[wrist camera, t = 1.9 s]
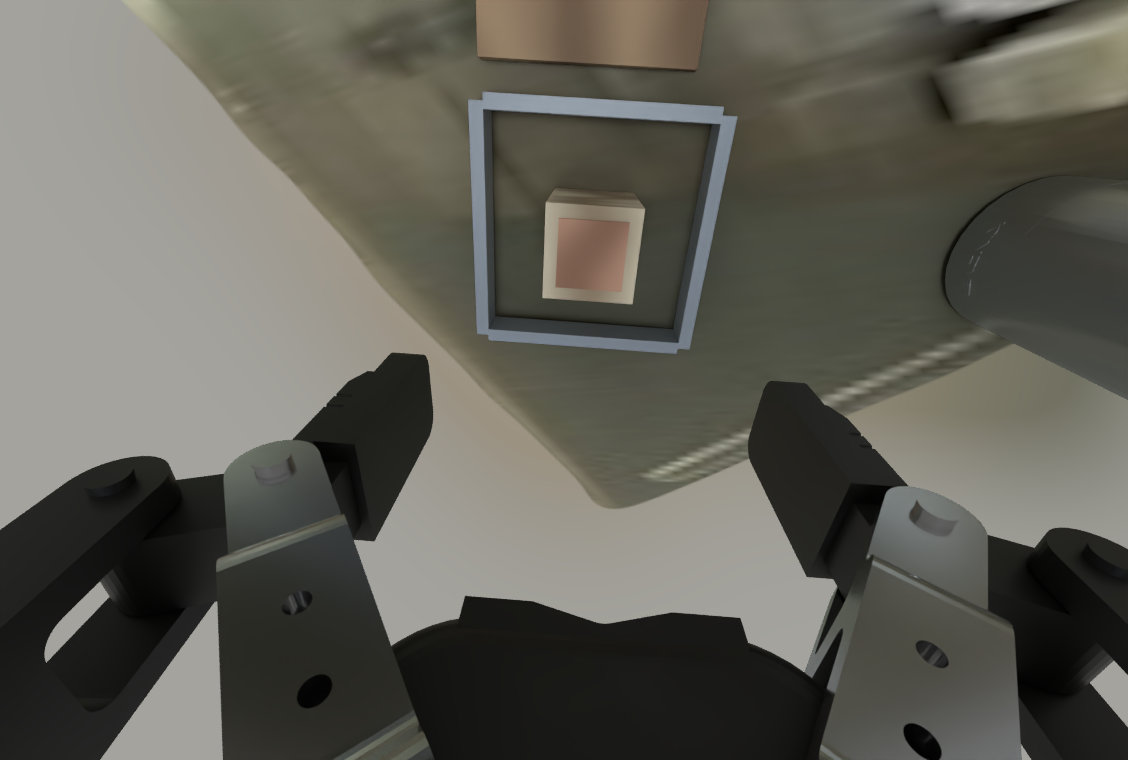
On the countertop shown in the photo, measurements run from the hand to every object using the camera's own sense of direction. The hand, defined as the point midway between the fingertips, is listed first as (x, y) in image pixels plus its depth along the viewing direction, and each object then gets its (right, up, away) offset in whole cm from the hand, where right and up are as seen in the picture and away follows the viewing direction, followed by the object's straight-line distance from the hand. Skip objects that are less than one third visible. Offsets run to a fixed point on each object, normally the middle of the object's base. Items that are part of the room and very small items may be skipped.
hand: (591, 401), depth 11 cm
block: (+1, +10, +19) cm, 22 cm away
